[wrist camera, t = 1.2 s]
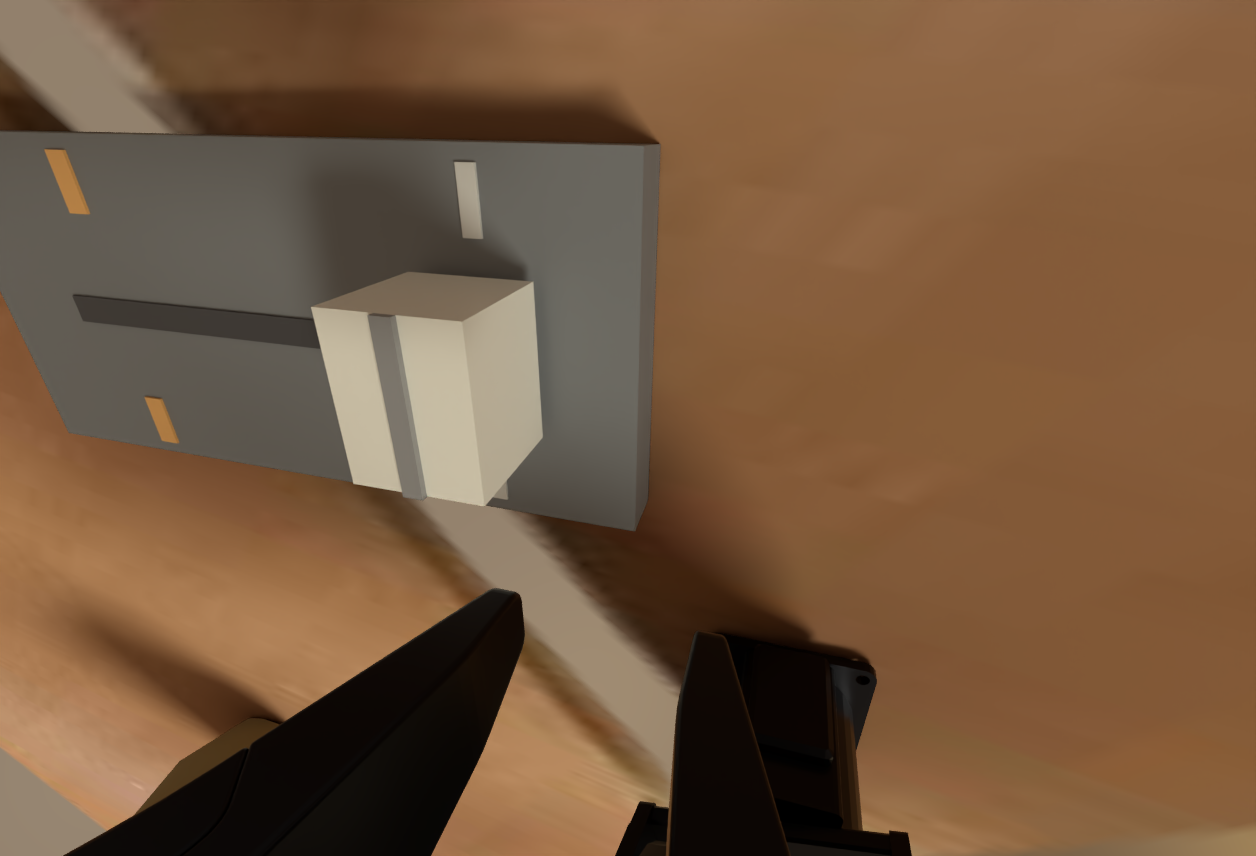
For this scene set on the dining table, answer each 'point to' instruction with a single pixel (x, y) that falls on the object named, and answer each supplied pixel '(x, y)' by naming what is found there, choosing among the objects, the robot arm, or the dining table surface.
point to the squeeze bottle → (210, 756)
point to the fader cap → (434, 382)
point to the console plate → (328, 288)
